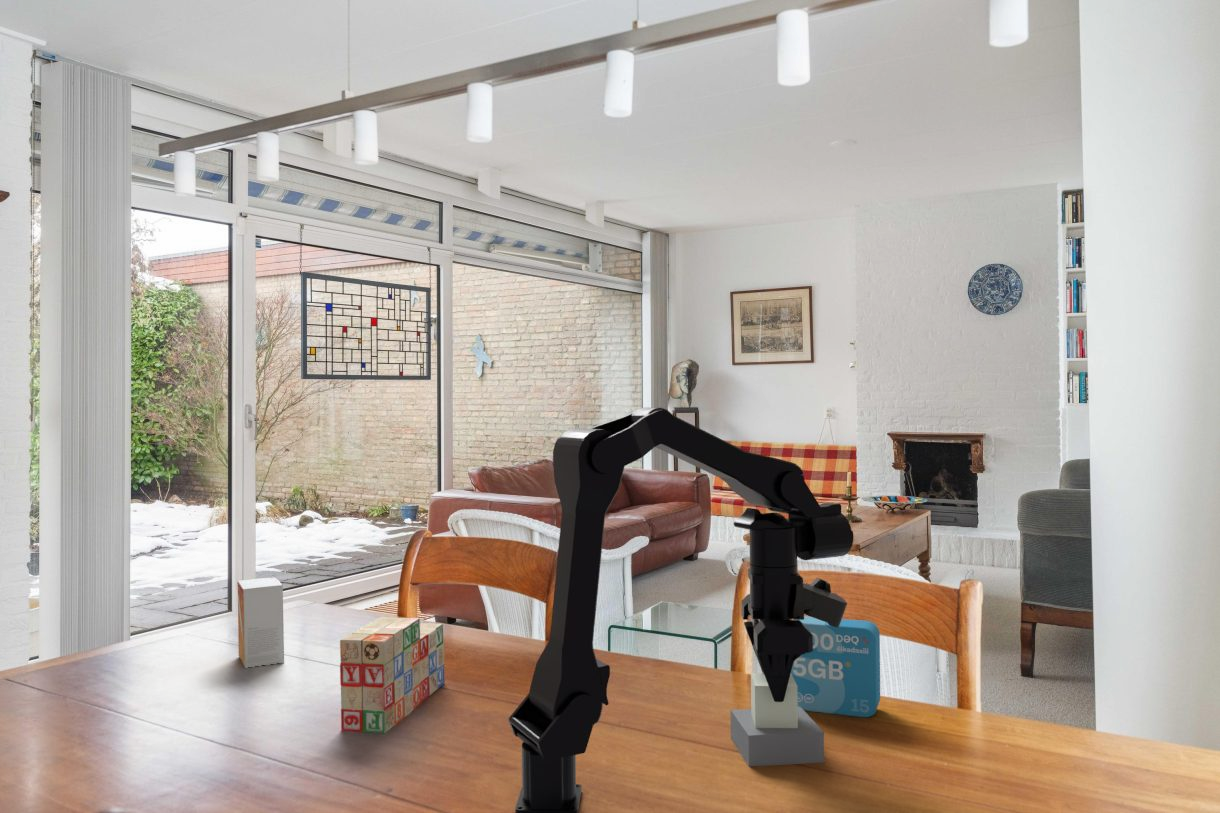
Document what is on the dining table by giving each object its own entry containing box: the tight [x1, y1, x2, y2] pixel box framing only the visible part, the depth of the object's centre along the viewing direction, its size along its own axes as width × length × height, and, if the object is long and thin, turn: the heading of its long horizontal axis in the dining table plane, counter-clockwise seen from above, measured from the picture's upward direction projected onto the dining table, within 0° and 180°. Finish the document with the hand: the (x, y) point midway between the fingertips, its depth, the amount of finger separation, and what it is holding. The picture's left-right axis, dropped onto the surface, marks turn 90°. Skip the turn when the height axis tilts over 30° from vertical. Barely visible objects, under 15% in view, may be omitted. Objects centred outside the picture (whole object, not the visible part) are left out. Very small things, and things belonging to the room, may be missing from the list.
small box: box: [237, 577, 285, 669], centre depth 154 cm, size 8×6×13 cm
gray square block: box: [730, 707, 825, 767], centre depth 112 cm, size 9×9×4 cm
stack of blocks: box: [339, 616, 446, 734], centre depth 130 cm, size 21×6×12 cm, turn 169°
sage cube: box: [750, 672, 798, 728], centre depth 112 cm, size 5×5×5 cm
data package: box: [791, 615, 881, 718], centre depth 127 cm, size 12×4×12 cm, turn 68°
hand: (774, 692), depth 112 cm, fingers open, 7 cm apart
